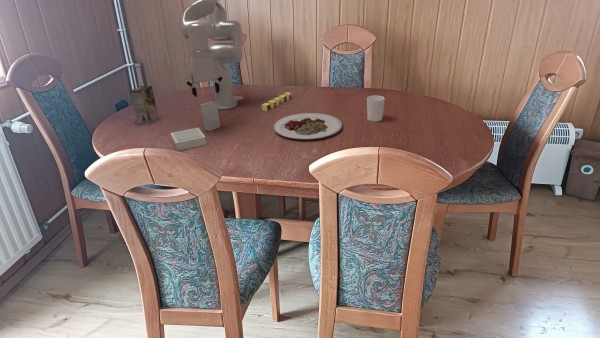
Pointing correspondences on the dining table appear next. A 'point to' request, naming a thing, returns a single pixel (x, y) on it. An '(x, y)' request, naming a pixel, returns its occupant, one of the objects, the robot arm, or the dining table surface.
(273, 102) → the yellow segmented block row
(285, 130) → the plated food
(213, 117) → the skincare box
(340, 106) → the dining table surface
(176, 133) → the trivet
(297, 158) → the dining table surface
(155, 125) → the dining table surface
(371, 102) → the white cup
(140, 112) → the coffee box
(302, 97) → the dining table surface
